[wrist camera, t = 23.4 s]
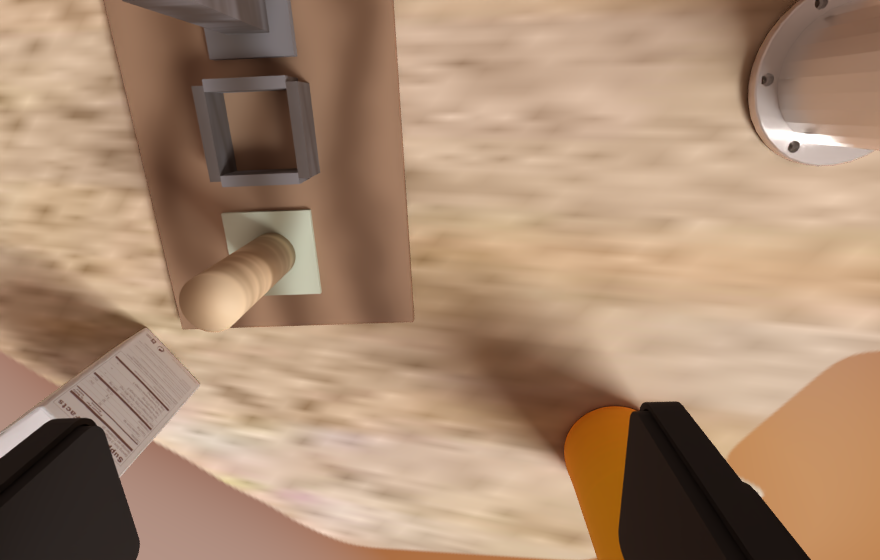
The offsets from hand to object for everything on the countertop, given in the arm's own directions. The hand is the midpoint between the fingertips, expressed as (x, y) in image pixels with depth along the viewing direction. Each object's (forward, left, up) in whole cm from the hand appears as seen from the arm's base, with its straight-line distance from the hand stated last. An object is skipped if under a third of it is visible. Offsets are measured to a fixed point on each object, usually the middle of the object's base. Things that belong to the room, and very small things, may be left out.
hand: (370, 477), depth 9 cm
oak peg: (+13, +5, -31) cm, 34 cm away
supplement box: (+27, +16, -32) cm, 45 cm away
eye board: (+12, -3, -32) cm, 35 cm away
